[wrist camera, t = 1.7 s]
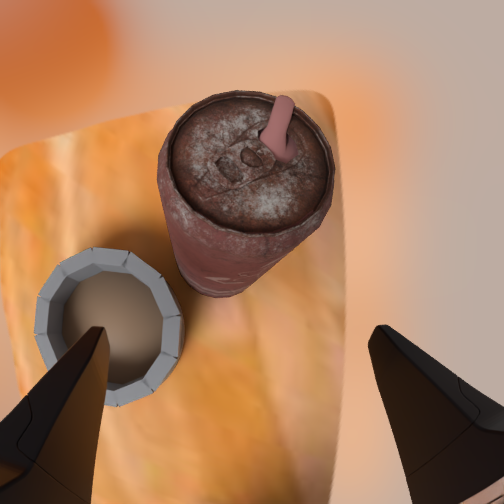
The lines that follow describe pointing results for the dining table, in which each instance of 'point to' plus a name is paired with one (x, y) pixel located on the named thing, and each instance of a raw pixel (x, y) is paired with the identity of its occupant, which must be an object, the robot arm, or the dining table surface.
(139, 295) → the segmented gray ring
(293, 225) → the can
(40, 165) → the dining table surface
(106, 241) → the dining table surface
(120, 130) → the dining table surface
